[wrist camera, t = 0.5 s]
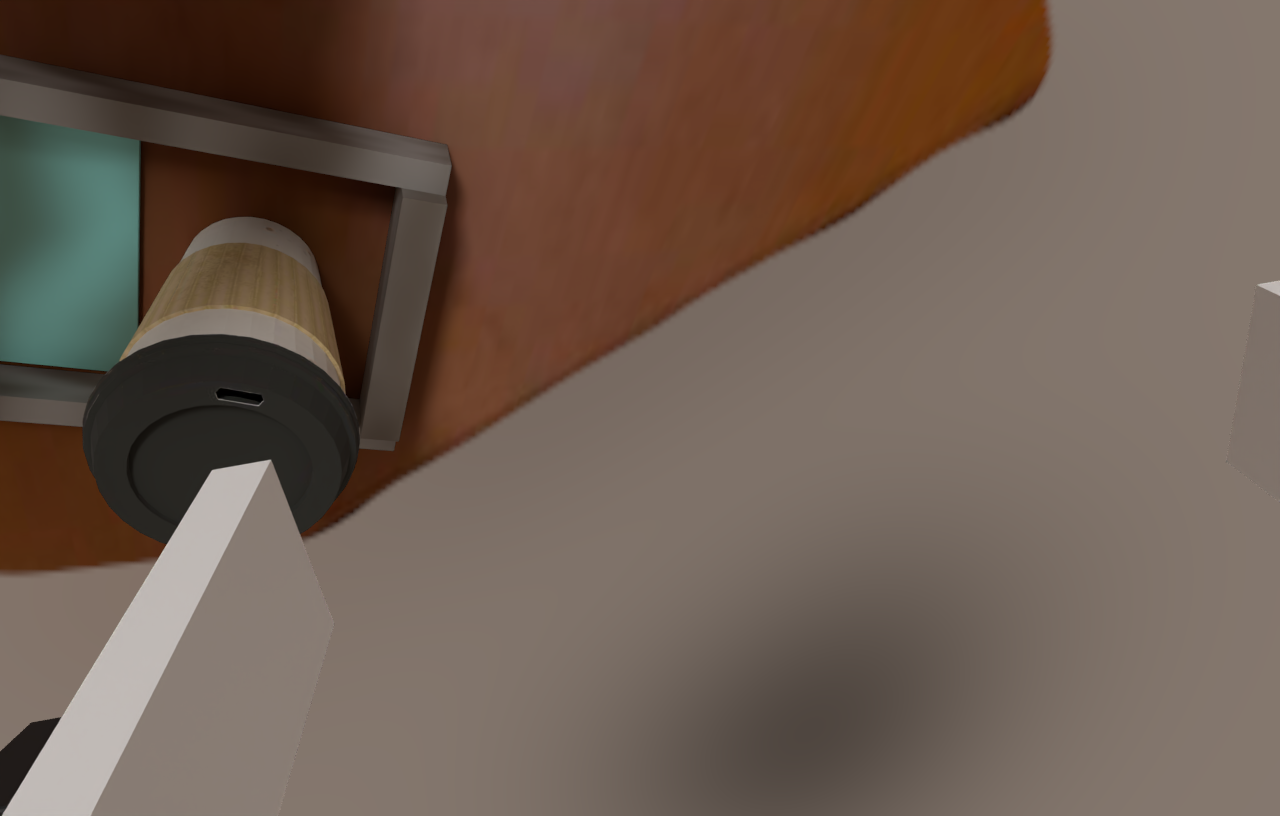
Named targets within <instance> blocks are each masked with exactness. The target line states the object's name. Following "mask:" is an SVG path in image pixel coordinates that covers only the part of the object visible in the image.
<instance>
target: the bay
mask: <svg viewBox="0 0 1280 816" xmlns="http://www.w3.org/2000/svg"><path fill="white" fill-rule="evenodd" d="M141 141H145V142H151V143H156V144H162V145H167V146H173V147H179V148H184V149H190V150H195V151H201V152H206V153H212V154H217V155H223V156H228V157H234V158H239V159H245V160H250V161H256V162H261V163H267V164H272V165H278V166H283V167H289V168H294V169H300V170H305V171H311V172H316V173H322V174H327V175H333V176H338V177H344V178H349V179H355V180H360V181H366V182H371V183H377V184H382V185H388V186H393V187H396V189H395V195H394V200H393V206H392V212H391V218H390V224H389V230H388V236H387V241H386V247H385V253H384V259H383V265H382V271H381V277H380V283H379V288H378V294H377V300H376V306H375V312H374V318H373V324H372V329H371V335H370V341H369V347H368V353H367V359H366V365H365V370H364V376H363V382H362V388H361V394H360V399H353V398H348V399H349V401H350V402H351V404H352V406H353V409H354V412H355V414H356V417H357V420H358V423H359V433H360V446H359V448H360V449H373V450H386V451H394V448H395V443H396V441H398V442H399V439H400V434H401V429H402V424H403V419H404V414H405V409H406V404H407V400H408V395H409V390H410V385H411V380H412V375H413V370H414V365H415V361H416V356H417V351H418V346H419V341H420V336H421V331H422V327H423V322H424V317H425V312H426V307H427V302H428V297H429V292H430V288H431V283H432V278H433V273H434V268H435V263H436V258H437V253H438V249H439V244H440V239H441V234H442V229H443V224H444V219H445V214H446V210H447V201H446V191H447V186H448V181H449V177H450V172H451V167H452V165H451V161H450V156H449V151H448V147H447V145H446V144H441V143H436V142H431V141H426V140H421V139H416V138H411V137H406V136H401V135H396V134H391V133H386V132H381V131H376V130H372V129H367V128H362V127H357V126H352V125H347V124H342V123H337V122H332V121H327V120H322V119H317V118H312V117H307V116H302V115H297V114H292V113H287V112H282V111H277V110H273V109H268V108H263V107H258V106H253V105H248V104H243V103H238V102H233V101H228V100H223V99H218V98H213V97H208V96H203V95H198V94H193V93H188V92H183V91H178V90H174V89H169V88H164V87H159V86H154V85H149V84H144V83H139V82H134V81H129V80H124V79H119V78H114V77H109V76H104V75H99V74H94V73H89V72H84V71H79V70H75V69H70V68H65V67H60V66H55V65H50V64H45V63H40V62H35V61H30V60H25V59H20V58H15V57H10V56H5V55H0V361H7V362H18V363H28V364H38V365H48V366H58V367H69V368H79V369H89V370H99V371H109V370H110V369H111V368H112V367H113V366H114V365H115V364H116V363H118V362H119V361H120V358H121V356H122V355H123V353H124V351H125V349H126V348H127V346H128V344H129V343H130V341H131V339H132V338H133V336H134V334H135V332H136V331H137V329H138V327H139V262H140V164H141ZM104 375H105V374H96V373H85V372H75V371H65V370H54V369H44V368H34V367H24V366H13V365H3V364H0V420H1V421H14V422H27V423H40V424H52V425H65V426H78V427H83V425H82V421H83V415H84V412H85V408H86V404H87V400H88V398H89V396H90V395H91V393H92V391H93V390H94V388H95V386H96V385H97V383H98V381H99V380H100V379H101V378H102V377H103V376H104Z"/></svg>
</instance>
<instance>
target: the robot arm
mask: <svg viewBox="0 0 1280 816" xmlns="http://www.w3.org/2000/svg"><path fill="white" fill-rule="evenodd" d="M1226 462H1227V463H1228V464H1230V465H1231V466H1233V467H1234V468H1235V469H1236V470H1238V471H1239V472H1240V473H1242V474H1243V475H1244V476H1246V477H1247V478H1248V479H1250V480H1251V481H1252V482H1253V483H1255V484H1256V485H1257V486H1259V487H1260V488H1262V489H1263V490H1264V491H1266V492H1267V493H1268V494H1269V495H1271V496H1272V497H1273V498H1275V499H1276V500H1277V501H1279V502H1280V281H1275V282H1269V283H1264V284H1258V285H1257V286H1256V290H1255V296H1254V302H1253V308H1252V314H1251V319H1250V325H1249V331H1248V337H1247V343H1246V349H1245V354H1244V360H1243V367H1242V372H1241V378H1240V383H1239V389H1238V395H1237V401H1236V407H1235V413H1234V418H1233V425H1232V430H1231V436H1230V442H1229V448H1228V454H1227V460H1226ZM333 627H334V621H333V619H332V616H331V614H330V611H329V608H328V606H327V603H326V600H325V598H324V595H323V593H322V590H321V587H320V585H319V583H318V580H317V577H316V575H315V572H314V569H313V567H312V564H311V562H310V559H309V557H308V554H307V551H306V549H305V546H304V543H303V541H302V538H301V536H300V533H299V531H298V528H297V525H296V523H295V520H294V518H293V515H292V512H291V510H290V507H289V505H288V502H287V499H286V497H285V494H284V492H283V489H282V487H281V484H280V481H279V479H278V476H277V474H276V471H275V468H274V466H273V463H272V461H271V460H266V461H260V462H255V463H249V464H243V465H238V466H232V467H226V468H221V469H215V470H212V471H211V473H210V474H209V476H208V478H207V479H206V481H205V483H204V484H203V486H202V487H201V489H200V491H199V492H198V494H197V496H196V497H195V499H194V501H193V502H192V504H191V506H190V507H189V509H188V511H187V512H186V514H185V515H184V517H183V519H182V520H181V522H180V524H179V525H178V527H177V529H176V530H175V532H174V534H173V535H172V537H171V538H170V540H169V542H168V543H167V545H166V547H165V548H164V550H163V552H162V553H161V555H160V557H159V558H158V560H157V561H156V563H155V565H154V566H153V568H152V570H151V571H150V573H149V575H148V576H147V578H146V580H145V581H144V583H143V585H142V586H141V588H140V590H139V591H138V593H137V594H136V596H135V598H134V599H133V601H132V603H131V604H130V606H129V608H128V609H127V611H126V612H125V614H124V616H123V617H122V619H121V621H120V622H119V624H118V626H117V627H116V629H115V631H114V632H113V634H112V635H111V637H110V639H109V641H108V642H107V644H106V645H105V647H104V649H103V650H102V652H101V654H100V655H99V657H98V659H97V660H96V662H95V664H94V665H93V667H92V668H91V670H90V672H89V673H88V675H87V677H86V678H85V680H84V682H83V683H82V685H81V687H80V688H79V690H78V691H77V693H76V695H75V696H74V698H73V700H72V701H71V703H70V705H69V706H68V708H67V710H66V711H65V713H64V714H63V716H62V717H60V718H55V719H50V720H43V721H38V722H32V723H30V725H28V726H27V727H26V728H25V729H24V730H23V731H22V732H21V733H20V734H19V735H17V736H16V737H15V738H14V739H13V740H12V741H11V742H10V743H9V744H8V745H7V746H6V747H5V748H4V749H2V750H1V751H0V816H278V814H279V811H280V808H281V804H282V801H283V797H284V794H285V791H286V787H287V784H288V780H289V777H290V774H291V770H292V767H293V763H294V760H295V756H296V753H297V750H298V746H299V743H300V740H301V736H302V733H303V729H304V726H305V723H306V719H307V716H308V712H309V709H310V705H311V702H312V698H313V695H314V692H315V688H316V685H317V682H318V678H319V675H320V671H321V668H322V664H323V661H324V657H325V654H326V651H327V648H328V644H329V641H330V637H331V634H332V630H333Z"/></svg>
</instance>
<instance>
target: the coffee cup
mask: <svg viewBox="0 0 1280 816" xmlns="http://www.w3.org/2000/svg"><path fill="white" fill-rule="evenodd" d="M82 425H83V449H84V453H85V456H86V459H87V462H88V465H89V468H90V471H91V472H92V474H93V476H94V477H95V479H96V482H97V485H98V488H99V491H100V493H101V494H102V496H103V497H104V499H105V501H106V502H107V504H108V505H109V507H110V508H111V509H112V510H113V511H114V512H115V513H116V514H117V515H118V516H119V517H120V518H121V519H122V520H123V521H124V522H126V523H127V524H129V525H130V526H132V527H133V528H134V529H136V530H137V531H139V532H140V533H142V534H144V535H146V536H148V537H151V538H153V539H155V540H157V541H159V542H161V543H165V544H167V543H168V542H169V540H170V538H171V537H172V535H173V534H174V532H175V530H176V529H177V527H178V525H179V524H180V522H181V520H182V519H183V517H184V515H185V514H186V512H187V511H188V509H189V507H190V506H191V504H192V502H193V501H194V499H195V497H196V496H197V494H198V492H199V491H200V489H201V487H202V486H203V484H204V483H205V481H206V479H207V478H208V476H209V474H210V473H211V471H212V470H215V469H221V468H226V467H232V466H238V465H243V464H249V463H255V462H260V461H266V460H271V461H272V463H273V466H274V468H275V471H276V474H277V476H278V479H279V481H280V484H281V487H282V489H283V492H284V494H285V497H286V499H287V502H288V505H289V507H290V510H291V512H292V515H293V518H294V520H295V523H296V525H297V528H298V531H299V533H300V534H301V533H302V532H304V531H306V530H308V529H309V528H310V527H311V526H312V525H314V524H315V523H316V522H317V521H318V520H319V519H321V518H322V517H323V515H324V514H325V513H326V511H327V510H328V509H329V508H330V506H331V505H332V504H333V502H334V501H335V500H336V498H337V497H338V496H339V494H340V493H341V492H342V491H343V489H344V488H345V487H346V485H347V483H348V481H349V479H350V477H351V475H352V472H353V470H354V468H355V464H356V462H357V457H358V451H359V446H360V433H359V423H358V420H357V417H356V414H355V412H354V409H353V406H352V404H351V402H350V401H349V399H348V398H347V396H346V392H345V382H344V377H343V372H342V367H341V362H340V357H339V353H338V348H337V343H336V338H335V333H334V328H333V323H332V318H331V314H330V309H329V304H328V301H327V298H326V295H325V292H324V290H323V288H322V285H321V280H320V275H319V270H318V266H317V263H316V260H315V257H314V255H313V254H312V252H311V250H310V249H309V247H308V246H307V245H306V244H305V242H304V241H303V240H302V239H301V238H300V237H299V236H297V235H296V234H295V233H293V232H292V231H291V230H289V229H288V228H286V227H284V226H282V225H280V224H278V223H275V222H272V221H269V220H266V219H261V218H255V217H234V218H229V219H224V220H221V221H219V222H216V223H213V224H211V225H210V226H208V227H207V228H205V229H203V230H202V231H201V232H200V233H199V234H198V235H197V236H196V237H195V238H194V239H193V241H192V242H191V244H190V246H189V247H188V249H187V251H186V253H185V254H184V256H183V258H182V260H181V261H180V263H179V264H178V265H177V266H176V267H175V268H174V269H173V270H172V272H171V273H170V275H169V276H168V278H167V280H166V281H165V283H164V285H163V286H162V288H161V290H160V292H159V293H158V295H157V297H156V298H155V300H154V302H153V304H152V305H151V307H150V309H149V310H148V312H147V314H146V315H145V317H144V319H143V321H142V322H141V324H140V326H139V327H138V329H137V331H136V332H135V334H134V336H133V338H132V339H131V341H130V343H129V344H128V346H127V348H126V349H125V351H124V353H123V355H122V356H121V358H120V361H119V362H118V363H116V364H115V365H114V366H113V367H112V368H111V369H110V370H109V371H108V372H107V373H106V374H105V375H104V376H103V377H102V378H101V379H100V380H99V381H98V383H97V385H96V386H95V388H94V390H93V391H92V393H91V395H90V396H89V398H88V400H87V404H86V408H85V412H84V415H83V421H82Z"/></svg>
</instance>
